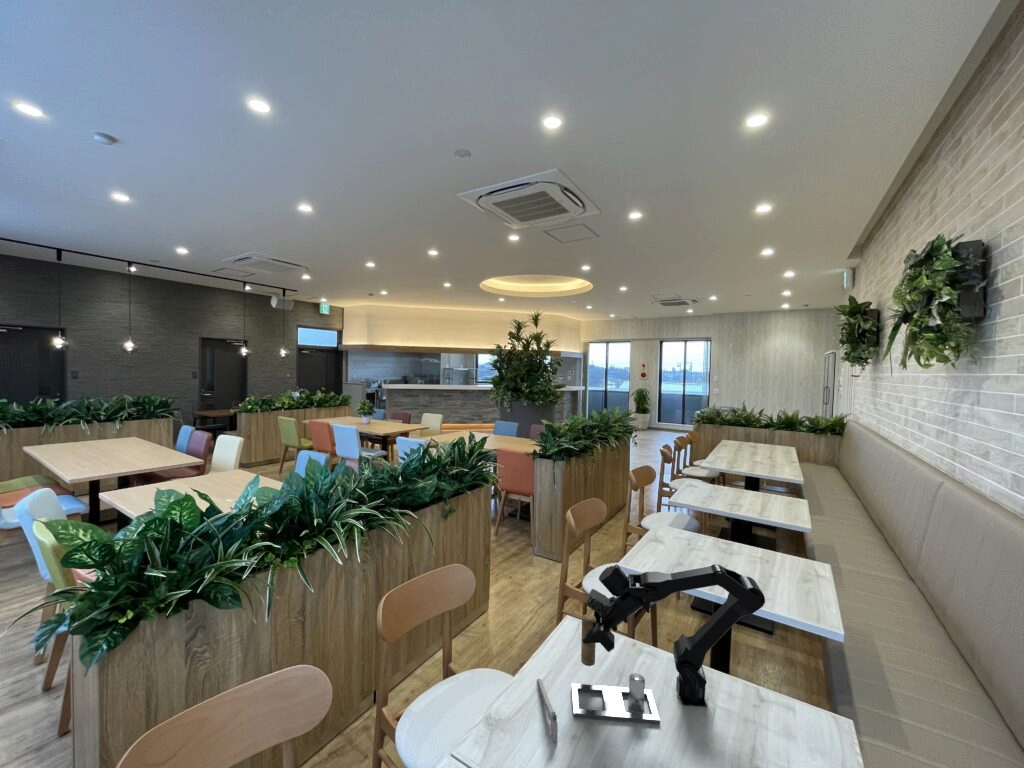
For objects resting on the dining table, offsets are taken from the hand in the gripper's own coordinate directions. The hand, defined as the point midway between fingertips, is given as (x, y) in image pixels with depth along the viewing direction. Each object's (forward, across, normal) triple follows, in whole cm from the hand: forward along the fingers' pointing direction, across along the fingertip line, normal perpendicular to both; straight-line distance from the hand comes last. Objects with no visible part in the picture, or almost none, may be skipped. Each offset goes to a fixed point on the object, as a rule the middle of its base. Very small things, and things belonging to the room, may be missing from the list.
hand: (583, 637), depth 124 cm
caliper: (+15, +14, +3) cm, 21 cm away
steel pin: (-2, +8, +19) cm, 20 cm away
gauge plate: (+2, +8, +15) cm, 17 cm away
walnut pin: (+4, 0, +6) cm, 7 cm away
